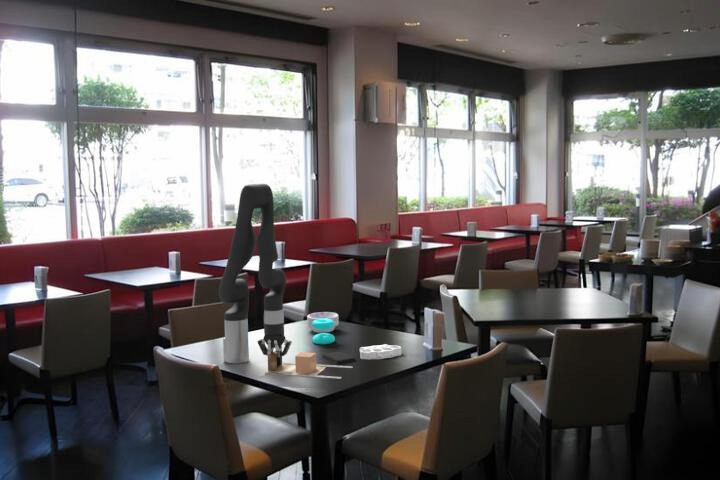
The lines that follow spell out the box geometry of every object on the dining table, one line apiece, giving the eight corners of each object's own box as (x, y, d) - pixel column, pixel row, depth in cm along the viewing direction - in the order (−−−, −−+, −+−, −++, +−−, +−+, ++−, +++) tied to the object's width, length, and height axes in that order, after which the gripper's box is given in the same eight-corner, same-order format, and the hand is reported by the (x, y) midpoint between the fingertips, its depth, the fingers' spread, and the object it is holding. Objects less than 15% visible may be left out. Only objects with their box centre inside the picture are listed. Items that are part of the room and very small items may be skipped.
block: (295, 372, 243) (295, 356, 242) (301, 367, 249) (301, 352, 248) (310, 373, 241) (310, 357, 241) (316, 368, 247) (316, 353, 247)
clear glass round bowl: (321, 336, 306) (320, 319, 306) (301, 331, 318) (300, 315, 317) (345, 330, 317) (345, 314, 316) (325, 326, 328) (325, 310, 327)
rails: (268, 377, 241) (268, 373, 241) (284, 366, 256) (284, 362, 256) (340, 382, 233) (340, 377, 233) (352, 370, 248) (352, 366, 248)
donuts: (313, 318, 298) (335, 318, 298) (313, 339, 299) (335, 339, 299) (311, 322, 288) (333, 322, 288) (311, 345, 289) (334, 344, 289)
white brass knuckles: (390, 349, 280) (407, 357, 267) (352, 354, 273) (367, 363, 259) (390, 341, 280) (407, 349, 267) (352, 346, 272) (367, 354, 259)
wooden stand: (265, 375, 243) (264, 356, 243) (278, 366, 255) (277, 348, 254) (315, 378, 238) (315, 359, 237) (326, 369, 249) (326, 351, 249)
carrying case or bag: (361, 364, 257) (342, 356, 270) (361, 356, 257) (341, 349, 269) (338, 368, 251) (319, 360, 264) (338, 361, 251) (319, 353, 264)
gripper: (252, 322, 245) (254, 367, 247) (287, 324, 242) (288, 370, 243) (261, 318, 253) (262, 362, 254) (294, 320, 249) (296, 364, 250)
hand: (275, 366), depth 248 cm, fingers closed on wooden stand, 2 cm apart
